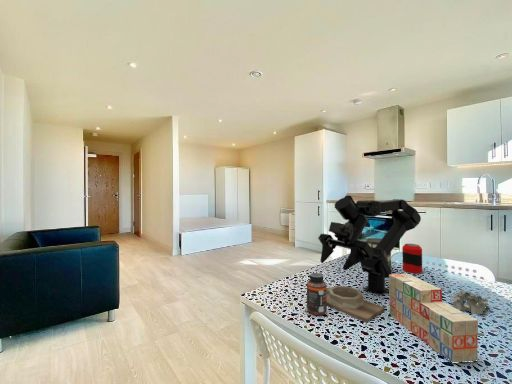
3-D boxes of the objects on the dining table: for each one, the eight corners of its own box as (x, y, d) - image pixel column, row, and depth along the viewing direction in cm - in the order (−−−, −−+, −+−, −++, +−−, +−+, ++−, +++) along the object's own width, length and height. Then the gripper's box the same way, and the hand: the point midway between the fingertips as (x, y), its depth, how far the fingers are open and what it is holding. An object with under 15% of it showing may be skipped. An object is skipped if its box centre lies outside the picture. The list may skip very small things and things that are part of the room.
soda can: (399, 268, 115) (399, 242, 115) (416, 268, 114) (416, 243, 114) (407, 273, 108) (407, 246, 108) (425, 274, 107) (425, 247, 106)
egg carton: (480, 318, 70) (480, 304, 70) (448, 308, 77) (448, 295, 77) (491, 307, 76) (491, 295, 76) (461, 299, 82) (461, 287, 82)
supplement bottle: (327, 317, 71) (327, 278, 71) (306, 315, 72) (306, 277, 72) (325, 307, 77) (325, 272, 77) (306, 305, 78) (306, 271, 78)
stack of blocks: (479, 363, 52) (478, 306, 52) (452, 365, 51) (451, 307, 51) (408, 313, 73) (408, 272, 73) (388, 314, 73) (388, 273, 73)
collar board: (329, 290, 90) (329, 279, 90) (384, 310, 75) (384, 297, 75) (310, 298, 84) (310, 286, 84) (366, 322, 68) (366, 308, 68)
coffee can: (384, 266, 117) (383, 237, 117) (396, 274, 107) (395, 242, 107) (362, 267, 117) (362, 238, 117) (372, 274, 107) (372, 242, 107)
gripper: (321, 211, 89) (299, 245, 83) (368, 215, 73) (344, 257, 68) (336, 230, 93) (315, 264, 88) (383, 238, 77) (362, 279, 72)
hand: (332, 265), depth 78 cm, fingers open, 9 cm apart
